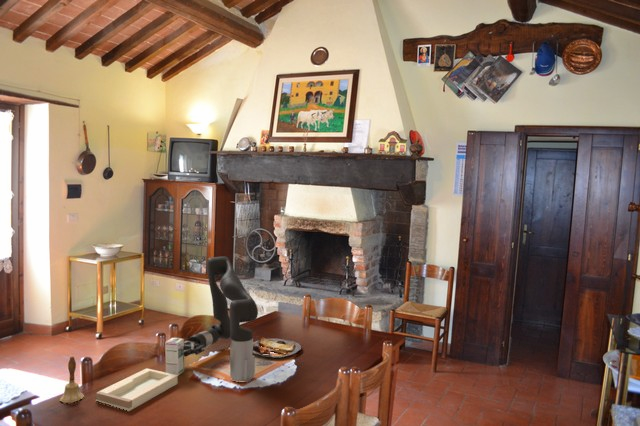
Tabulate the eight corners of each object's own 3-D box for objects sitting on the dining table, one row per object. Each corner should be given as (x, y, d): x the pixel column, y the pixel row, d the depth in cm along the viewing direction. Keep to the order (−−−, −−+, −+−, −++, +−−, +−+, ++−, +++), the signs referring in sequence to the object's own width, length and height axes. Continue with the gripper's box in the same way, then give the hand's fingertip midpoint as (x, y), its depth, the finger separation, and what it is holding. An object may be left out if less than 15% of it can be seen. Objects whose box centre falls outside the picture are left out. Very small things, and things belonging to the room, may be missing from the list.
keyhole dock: (146, 376, 209) (146, 368, 209) (177, 383, 203) (177, 375, 203) (96, 401, 186) (95, 392, 186) (128, 411, 179) (128, 401, 179)
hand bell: (79, 391, 194) (78, 351, 193) (87, 399, 188) (86, 357, 187) (56, 398, 188) (55, 356, 187) (63, 406, 182) (63, 363, 181)
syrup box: (178, 376, 210) (178, 342, 209) (165, 375, 211) (165, 341, 210) (184, 371, 216) (184, 338, 215) (171, 369, 217) (171, 337, 216)
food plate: (239, 354, 237) (239, 346, 237) (262, 339, 258) (263, 333, 258) (286, 364, 228) (287, 356, 227) (307, 348, 249) (307, 341, 249)
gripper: (187, 330, 231) (163, 341, 216) (213, 335, 225) (190, 346, 211) (187, 346, 232) (163, 358, 217) (213, 351, 226) (190, 364, 211)
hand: (176, 352), depth 214 cm, fingers open, 8 cm apart
